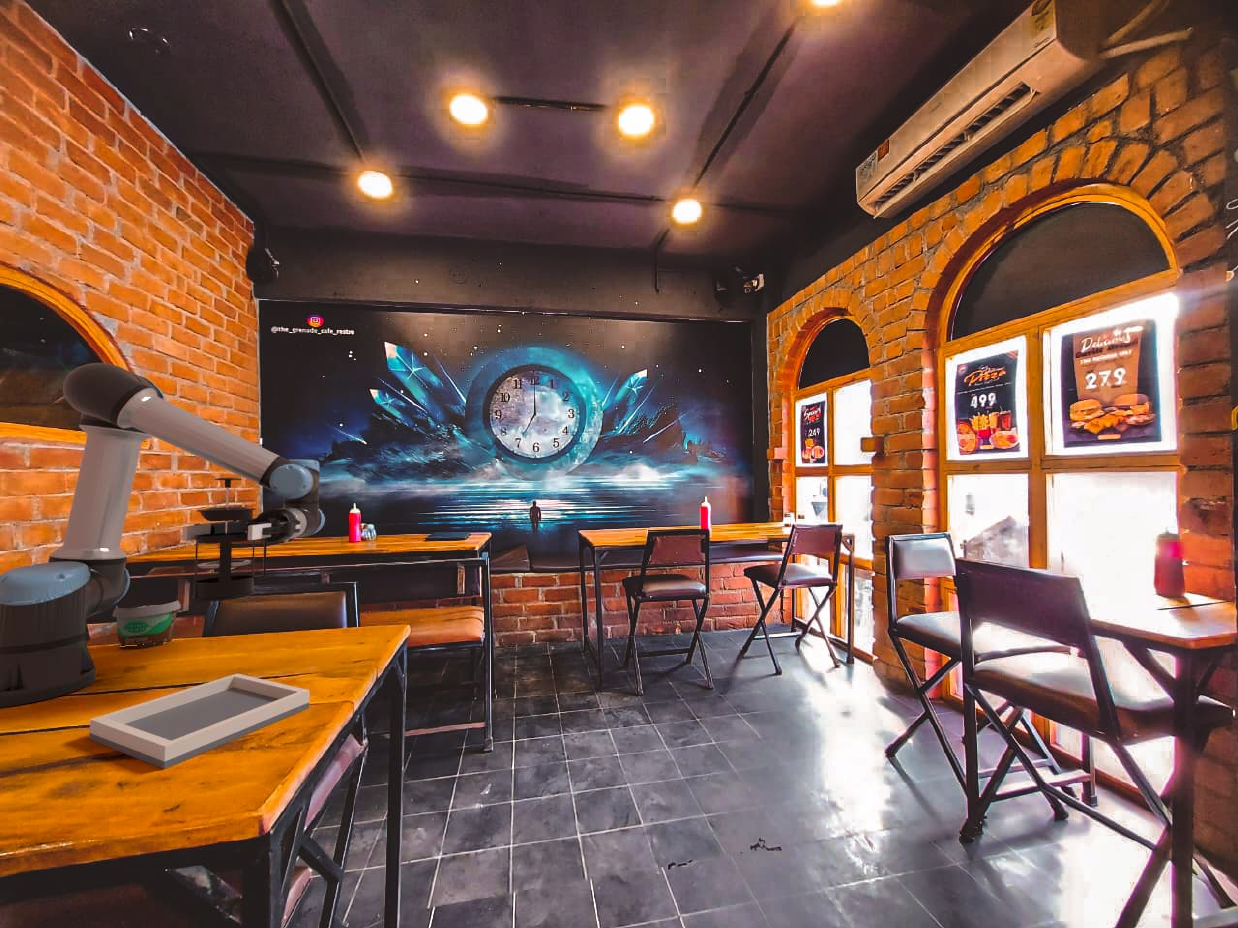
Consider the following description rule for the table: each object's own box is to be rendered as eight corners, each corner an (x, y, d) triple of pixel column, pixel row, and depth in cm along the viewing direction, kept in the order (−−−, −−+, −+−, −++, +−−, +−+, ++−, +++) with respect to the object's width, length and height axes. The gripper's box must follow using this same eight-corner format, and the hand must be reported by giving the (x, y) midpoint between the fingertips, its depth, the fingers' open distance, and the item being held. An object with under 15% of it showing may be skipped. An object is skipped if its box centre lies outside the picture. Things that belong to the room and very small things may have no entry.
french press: (186, 604, 88) (190, 477, 89) (189, 595, 96) (193, 477, 97) (266, 595, 96) (269, 477, 97) (263, 587, 103) (266, 478, 104)
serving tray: (89, 739, 75) (90, 719, 75) (236, 689, 94) (237, 673, 94) (164, 769, 67) (165, 746, 67) (309, 707, 86) (309, 690, 86)
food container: (102, 655, 113) (105, 611, 114) (111, 648, 118) (113, 605, 119) (174, 645, 120) (176, 604, 120) (179, 639, 125) (181, 599, 125)
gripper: (332, 540, 116) (283, 552, 94) (224, 541, 112) (147, 554, 90) (333, 508, 116) (284, 512, 94) (226, 508, 112) (149, 513, 91)
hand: (217, 533), depth 92 cm, fingers closed on french press, 10 cm apart
